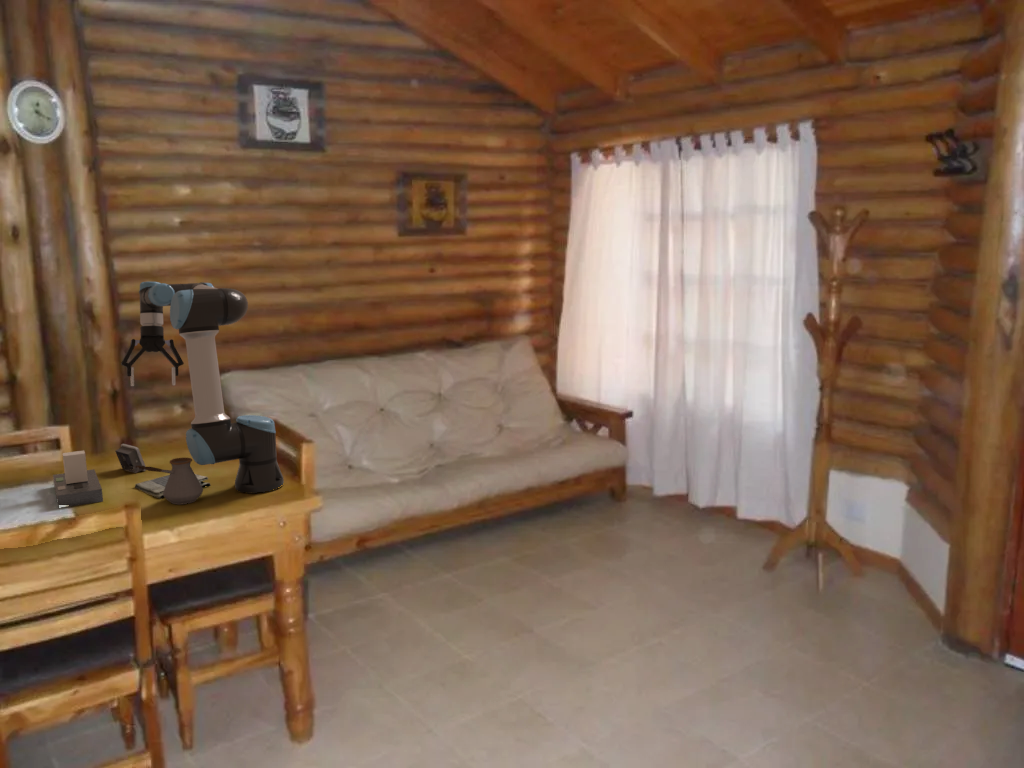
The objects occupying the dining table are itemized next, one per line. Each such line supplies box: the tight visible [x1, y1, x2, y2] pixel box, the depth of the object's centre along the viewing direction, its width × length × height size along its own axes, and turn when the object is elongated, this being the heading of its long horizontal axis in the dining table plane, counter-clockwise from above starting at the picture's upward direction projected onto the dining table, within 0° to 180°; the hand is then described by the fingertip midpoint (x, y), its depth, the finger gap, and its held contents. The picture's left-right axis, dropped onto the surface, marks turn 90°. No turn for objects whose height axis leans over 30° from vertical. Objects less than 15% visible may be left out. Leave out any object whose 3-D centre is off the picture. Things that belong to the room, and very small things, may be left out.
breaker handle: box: [62, 450, 88, 484], centre depth 255 cm, size 4×6×9 cm, turn 122°
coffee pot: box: [132, 457, 204, 505], centre depth 246 cm, size 21×12×15 cm, turn 149°
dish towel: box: [134, 473, 212, 500], centre depth 264 cm, size 19×18×3 cm
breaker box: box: [52, 468, 104, 507], centre depth 257 cm, size 24×12×4 cm, turn 32°
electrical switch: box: [115, 443, 147, 474], centre depth 280 cm, size 9×5×9 cm, turn 57°
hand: (153, 385), depth 288 cm, fingers open, 13 cm apart
